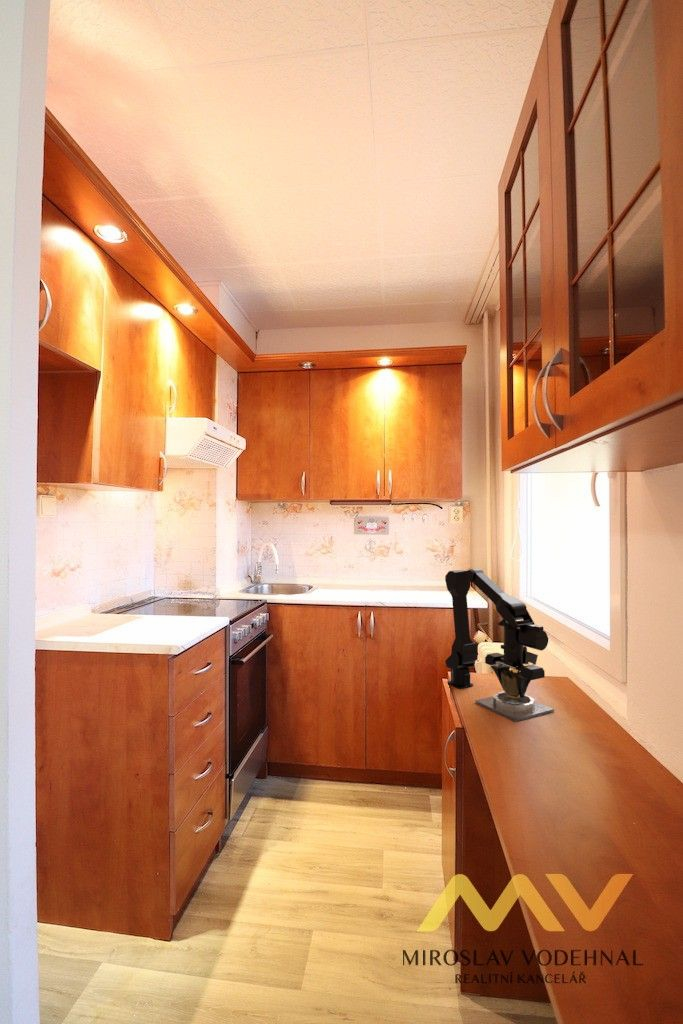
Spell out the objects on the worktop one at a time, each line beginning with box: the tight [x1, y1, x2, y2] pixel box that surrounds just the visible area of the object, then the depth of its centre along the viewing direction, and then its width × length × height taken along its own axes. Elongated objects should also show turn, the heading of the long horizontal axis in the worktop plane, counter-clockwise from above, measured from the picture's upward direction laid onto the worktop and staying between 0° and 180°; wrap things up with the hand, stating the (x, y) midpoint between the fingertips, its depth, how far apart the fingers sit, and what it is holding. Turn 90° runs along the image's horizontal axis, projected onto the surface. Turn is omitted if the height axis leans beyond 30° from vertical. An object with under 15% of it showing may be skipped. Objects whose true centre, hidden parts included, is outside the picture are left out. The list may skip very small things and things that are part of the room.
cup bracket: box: [474, 690, 555, 723], centre depth 146 cm, size 16×16×3 cm
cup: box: [501, 669, 521, 701], centre depth 146 cm, size 8×7×8 cm
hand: (513, 693), depth 146 cm, fingers closed on cup, 6 cm apart
